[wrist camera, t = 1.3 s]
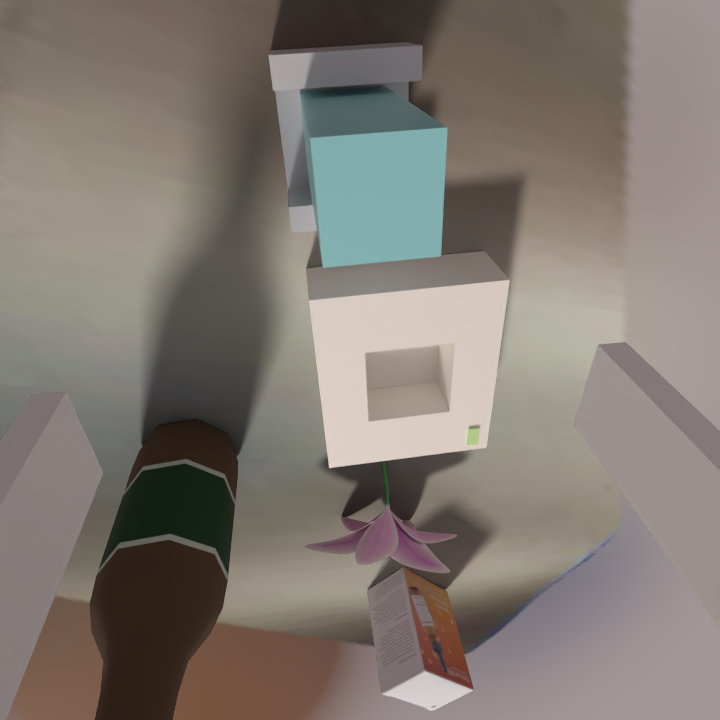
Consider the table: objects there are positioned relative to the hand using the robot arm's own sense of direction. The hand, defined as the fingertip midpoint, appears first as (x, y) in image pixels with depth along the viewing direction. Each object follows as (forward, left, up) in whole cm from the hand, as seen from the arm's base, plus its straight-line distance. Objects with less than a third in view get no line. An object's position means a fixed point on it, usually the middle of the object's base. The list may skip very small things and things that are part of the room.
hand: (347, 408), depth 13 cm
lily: (+28, +3, -21) cm, 35 cm away
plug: (-3, +2, -19) cm, 20 cm away
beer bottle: (+20, -12, -21) cm, 31 cm away
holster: (-3, +2, -20) cm, 21 cm away
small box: (+45, +6, -21) cm, 50 cm away
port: (+12, +5, -20) cm, 24 cm away
